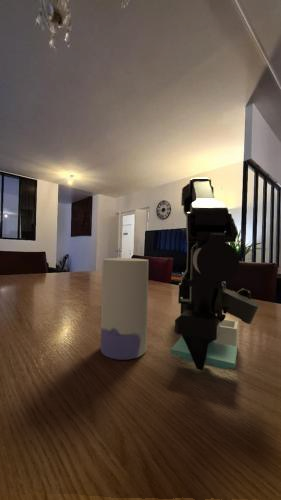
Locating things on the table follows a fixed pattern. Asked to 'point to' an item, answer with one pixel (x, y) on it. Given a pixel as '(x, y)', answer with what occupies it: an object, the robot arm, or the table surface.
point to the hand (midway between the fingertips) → (204, 359)
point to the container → (124, 307)
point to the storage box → (228, 333)
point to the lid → (209, 354)
